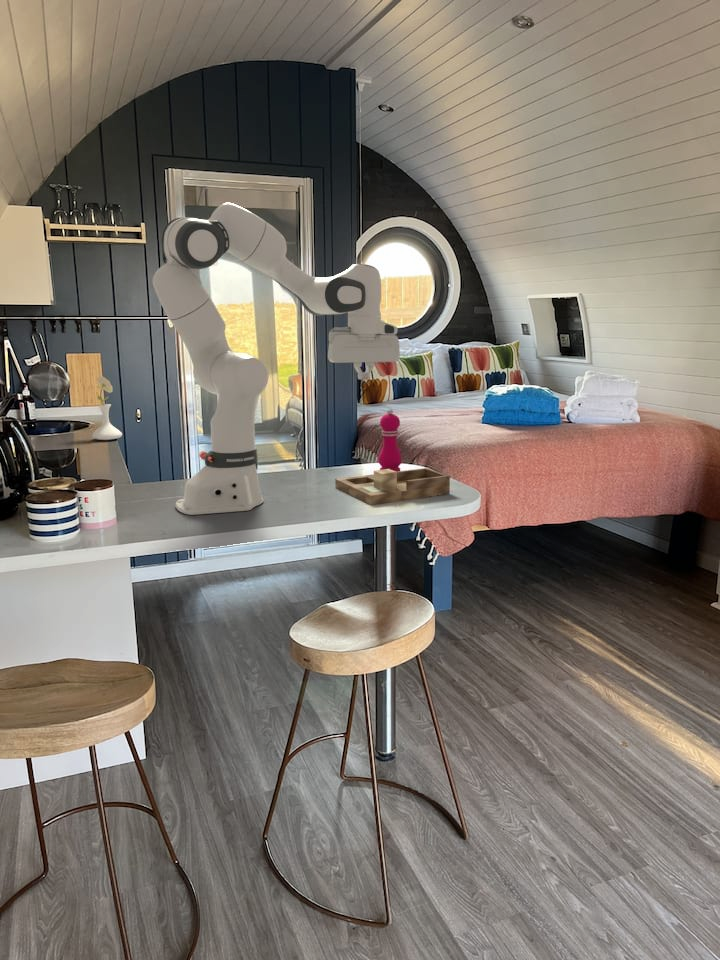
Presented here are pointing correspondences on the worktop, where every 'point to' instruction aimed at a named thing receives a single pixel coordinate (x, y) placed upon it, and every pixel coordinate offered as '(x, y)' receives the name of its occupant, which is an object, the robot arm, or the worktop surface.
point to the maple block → (385, 479)
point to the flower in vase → (105, 415)
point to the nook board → (408, 486)
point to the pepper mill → (390, 442)
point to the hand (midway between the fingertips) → (363, 379)
